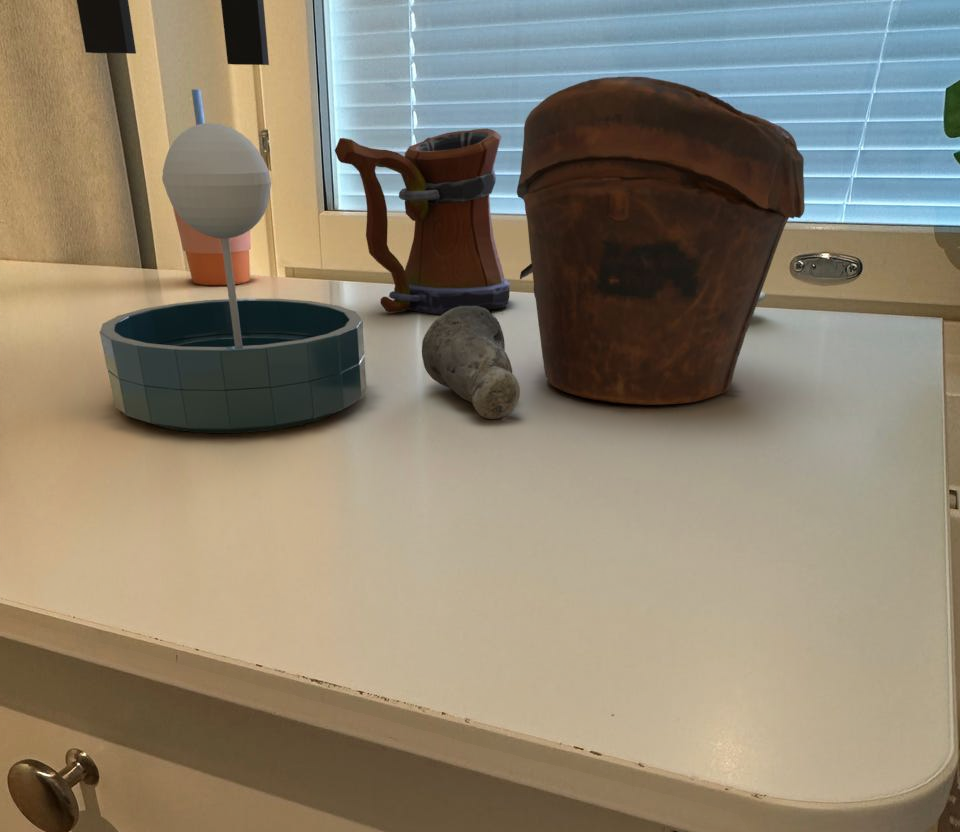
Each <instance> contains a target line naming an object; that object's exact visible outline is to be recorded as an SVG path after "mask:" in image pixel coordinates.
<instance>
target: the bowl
mask: <svg viewBox="0 0 960 832" xmlns="http://www.w3.org/2000/svg"><path fill="white" fill-rule="evenodd" d="M236 299H237V306H238V314H239V322H240V330H241V338H242V346H235V342H234V335H233V327H232V319H231V312H230V304H229V298H224V299H223V298H222V299H205V300H196V301H185V302H184V301H183V302H176V303H169V304H163V305H157V306H152V307H151V306H150V307H146V308H141V309H138V310H133V311H129V312H126V313H123V314H118V315H116V316H115V317H113V318H111V319H109V320H107V321H105V322H103V323H102V324H101V327H100V330H99V336H100V341H101V345H102V350H103V351H102V352H103V356H104V360H105V366H106V369H107V375H108V380H109V384H110V390H111V395H112V399H113V404H114V407H116V408H117V409H118V410H119V411H121V412H122V413H123V414H124V415H125V416H127V417H129V418H133V419H136V420H140V421H141V422H142V421H143V422H146V423H149V424H150V425H154V426H156V427H157V426H158V427H161V428H163V429H169V430H175V431H181V432H189V433H202V434H245V433H259V432H266V431H274V430H282V429H287V428H293V427H298V426H302V425H306V424H311V423H313V422H317V421H320V420H323V419H325V418H327V417H330V416H332V415H334V414H336V413H338V412H340V411H342V410H345V409H346V408H348V407H350V406H352V405H353V404H355V403H357V402H358V401H360V400H362V398H363V396H364V394H365V392H366V390H367V375H366V357H365V356H366V355H365V341H364V340H365V339H364V338H365V337H364V322H363V321H364V320H363V318H362V317H361V316H360V315H359V314H358V313H357V312H356V311H355V310H352V309H349V308H346V307H343V306H340V305H337V304H331V303H325V302H318V301H313V300H302V299H290V298H289V299H287V298H253V297H252V298H251V297H250V298H249V297H248V298H247V297H246V298H236Z"/></svg>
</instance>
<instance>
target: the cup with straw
mask: <svg viewBox="0 0 960 832" xmlns="http://www.w3.org/2000/svg"><path fill="white" fill-rule="evenodd" d="M191 97H192V105H193V112H194V118H195V126H196V125H199V124H206V121H205V113H204V106H203V99H202V97H203V96H202V90H201V89H197V88H196V89H193V88H192V89H191ZM161 178H162V180H161V181H163V175H162V177H161ZM162 183H163V182H162ZM162 185H164V183H163V184H162ZM172 209H173V213H174V218H175V222H176V227H177V230H178V235H179V239H180V243H181V247H182V250H183V252H185V256H186V261H187V264H188V269H189V273H190V277H191V280H192V282H193V283H194V284H197V285H201V286H227V281H226V273H225V265H224V258H223V250H222V242H221V238H215V237H212V236H208V235H205V234H203V233H201V232H199V231H197V230H195V229H194V228H192V227H191V226H190V225H188V224H187V223H186V222H185V221H184V220H183V219H182V218H181V217H180V216H179V215H178V213H177V212H176V210H175V209H174V207H173V206H172ZM251 242H252V241H251V230H249V231H247V232H246V233H244V234H242V235H239V236H236V237H232V238H229V243H230V251H231V259H232V267H233V275H234V283H235V285H239V284H245V283H248V282H249V281H250V279H251V276H250V275H251V272H250V268H251V267H250V250H251V249H252V248H251V247H252V246H251V245H252V243H251Z"/></svg>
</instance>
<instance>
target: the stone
mask: <svg viewBox="0 0 960 832" xmlns="http://www.w3.org/2000/svg"><path fill="white" fill-rule="evenodd" d="M505 350H506V344H505V336H504V331H503V329H502V326H501V324H500V322H499V321H498V318H497V317H495V316H494V315H493V314H492V312H491V311H490V310H489V309H488V310H487V309H485V308H483V307H478V306H460V307H456V308H453V309H450V310H449V311H447V312H445V313H444V314H440V315H439V316H438V317H437V318H436V319H434V321H433V322H432V323H431V325H430V326H429V328H428V329H427V331H426V333H425V335H424V337H423V338H422V343H421V357H422V362H423V366H424V368H425V371H426V373H427V374H428V376H429V377H430V378H431V379H432V380H433V381H435V382H437V384H439V385H442V386H444V387H446V388H449V389H451V390H452V392H454V393H455V394H457V396H459V397H460V398H462V399H463V400H465V401H467V402H469V403H471V404H472V406H473V407H474V409H475V411H476V412H477V414H478V415H479V416H481V417H482V418H485V419H488V420H497V419H503V418H505V417H507V416H508V415H509V414H510V413H511V412H513V410H514V408H515V407H516V406H517V405H518V402H519V399H520V395H521V388H520V385H519V382H518V380H517V377H516V376H515V375H514V374H513V367H512V364H511V361H510V360H511V359H509V356H508V354H507V352H506V351H505Z"/></svg>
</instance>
